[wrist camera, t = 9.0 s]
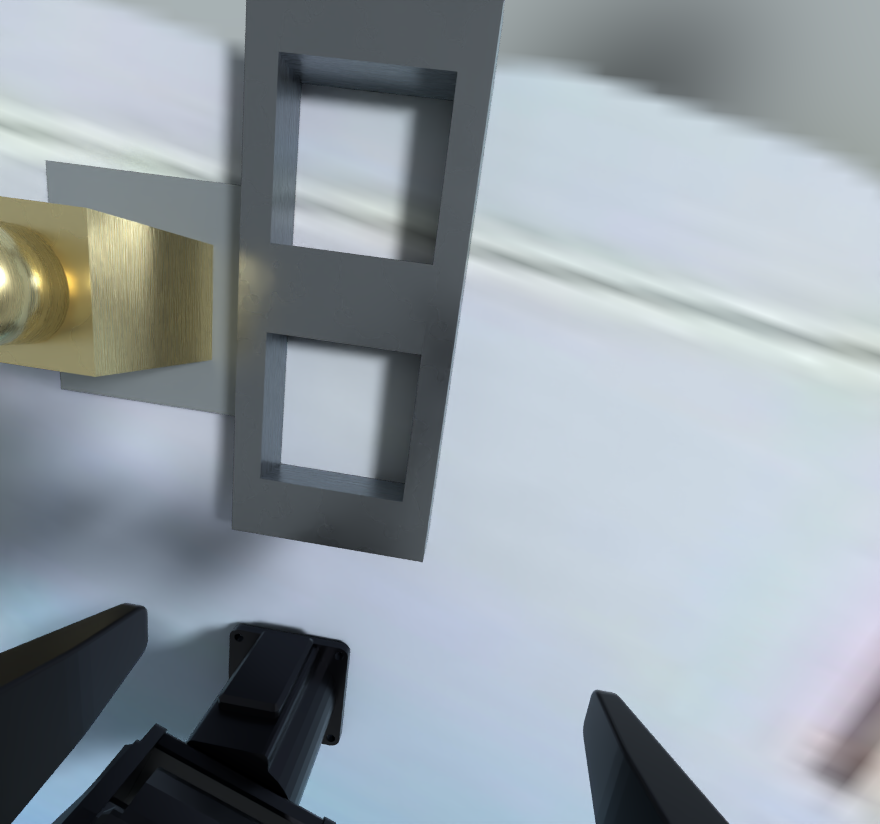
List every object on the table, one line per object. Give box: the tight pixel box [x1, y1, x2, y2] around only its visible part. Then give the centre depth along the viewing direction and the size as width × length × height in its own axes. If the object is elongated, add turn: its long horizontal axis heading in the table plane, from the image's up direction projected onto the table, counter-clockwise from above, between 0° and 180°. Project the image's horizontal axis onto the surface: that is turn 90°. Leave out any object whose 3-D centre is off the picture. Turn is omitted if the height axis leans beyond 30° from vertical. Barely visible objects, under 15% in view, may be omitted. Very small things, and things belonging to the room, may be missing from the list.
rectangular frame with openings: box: [232, 0, 505, 562], centre depth 18 cm, size 22×9×2 cm, turn 172°
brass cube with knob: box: [0, 196, 213, 377], centre depth 15 cm, size 5×5×8 cm
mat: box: [46, 160, 241, 416], centre depth 19 cm, size 10×10×1 cm
